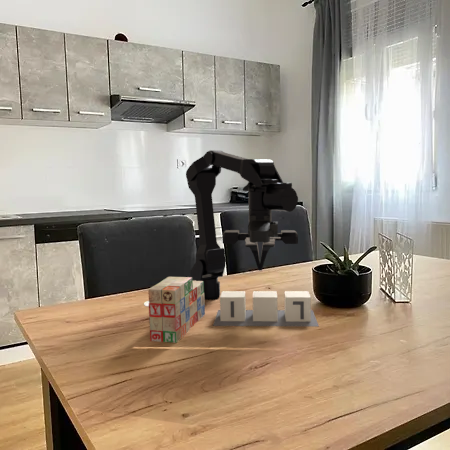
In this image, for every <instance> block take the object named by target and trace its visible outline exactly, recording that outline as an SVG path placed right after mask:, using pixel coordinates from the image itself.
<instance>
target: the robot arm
mask: <svg viewBox="0 0 450 450" xmlns="http://www.w3.org/2000/svg"><path fill="white" fill-rule="evenodd" d="M222 169H224V170H227V171H231V172H234V173H237V174H238V175H240V177H241V179H243V180H245V181H247V183H246V185H245V186H244V187H243V188H242V191H243V192H248V226H247V232H241V233H240V230H239V229H230V230H229V229H225V231H224V232H223V233H222V237H221V239H222V244H225V245H226V244H227V245H228V244H229V245H232V244H236V243H237V242H238V241H244V242H245V248H249V249H250V251H251V253H252V255H253V258H254V261H255V263H256V267H257V270H258V271H260V272H261V271H263V267H264V264H265V261H266V258H267V255H268V253H269V251H270V250H271V248H275V242H276V241H282V242H283V243H284V245H297V244H298V245H299V234H298V231H296V230H294V229H292V230H291V229H290V230H289V229H283V230H282V229H281V231H280V232H278V229H279V226H278V225H279V224H278V223H279V221H272V211H276V212H278V211H279V212H293V211H294V210H295V209H296V208H297V206H298V202H299V197H298V194H297V191H296V189H294V188H293V183H292V182H284V181H283V179H282V178H281V176H280V173H279V172H278V170H277V168H276V166H275V163H274V161H273V160H272V159H266V158H265V159H260V158H259V159H258V158H254V159H253V158H246V157H243V156H238V155H235V154H231V153H227V152H224V151H223V150H211V149H210V150H207V151H206V152H205V154H204V155H203V156H201V157H199V158H198V159H196V160H195V161H193V162H192V163H191V164H190V165H189V167H188V168H187V169H186V171H185V177H186V178H185V179H186V181H187V186H188V189H189V190H190V192H191V193H192V194H193V196H194V201H195V210H196V220H197V221H196V222H197V228H198V239H199V246H198V248H197V250H196V253H195V263H194V264H193V266H192V267H191V269H190V270H189V275H190V276H189V277H192V280H193V281H203V282H204V298H205V301H217V300H219V299H218V298H220V296H221V282H220V281H219V278H222V277H224V272H225V268H226V262H227V259H226V251H225V248H224V247H222V248H221V247H220V245H219V244H218V241H217V233H216V232H217V231H216V222H215V215H214V205H213V204H214V203H213V197H212V195H213V191H214V190H215V188H216V184H217V183H216V182H217V177H218V176H219V175H220V174H221V172H222ZM258 243H262V247H261V255H260V252H259V245H258Z"/></svg>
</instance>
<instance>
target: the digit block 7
mask: <svg viewBox="0 0 450 450" xmlns="http://www.w3.org/2000/svg"><path fill="white" fill-rule="evenodd" d="M283 293H284V310H285V319H286V321H300V322H311V310H312V297H311V294H310V292H309V290H294V291H293V290H285V291H284V292H283Z"/></svg>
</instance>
